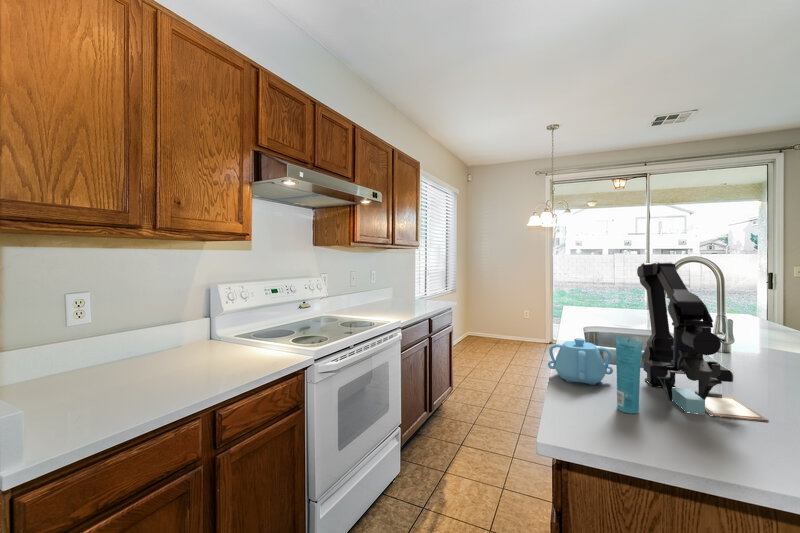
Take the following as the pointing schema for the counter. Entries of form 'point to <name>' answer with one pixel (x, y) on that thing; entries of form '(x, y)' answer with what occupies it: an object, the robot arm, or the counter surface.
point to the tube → (628, 373)
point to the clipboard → (729, 408)
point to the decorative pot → (580, 362)
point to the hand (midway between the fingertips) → (685, 401)
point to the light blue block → (688, 400)
